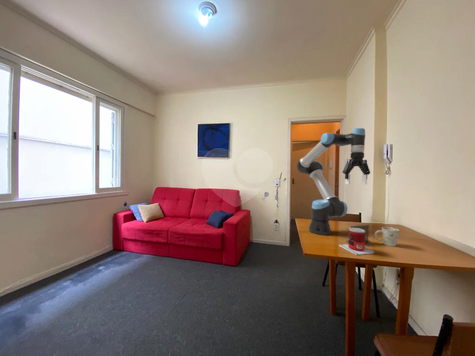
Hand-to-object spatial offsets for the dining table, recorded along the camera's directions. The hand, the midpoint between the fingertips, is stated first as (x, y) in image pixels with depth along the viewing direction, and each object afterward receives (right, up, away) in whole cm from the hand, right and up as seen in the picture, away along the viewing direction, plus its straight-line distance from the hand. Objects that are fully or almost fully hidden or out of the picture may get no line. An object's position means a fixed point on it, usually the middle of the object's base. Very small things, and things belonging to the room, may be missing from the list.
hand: (355, 184), depth 119 cm
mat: (-11, -37, -17) cm, 42 cm away
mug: (+14, -38, -8) cm, 41 cm away
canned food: (-11, -37, -17) cm, 42 cm away
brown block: (-2, -37, -6) cm, 37 cm away
